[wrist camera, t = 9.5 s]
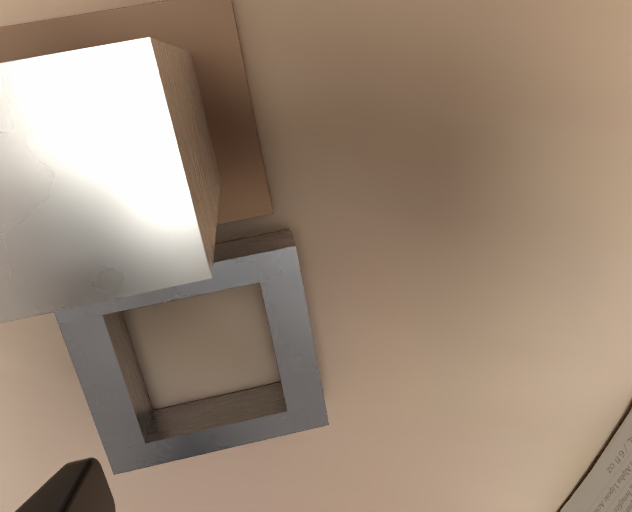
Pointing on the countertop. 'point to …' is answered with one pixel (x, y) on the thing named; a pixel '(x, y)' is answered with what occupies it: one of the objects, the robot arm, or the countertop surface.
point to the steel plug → (103, 177)
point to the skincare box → (608, 477)
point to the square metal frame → (212, 413)
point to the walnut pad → (211, 71)
